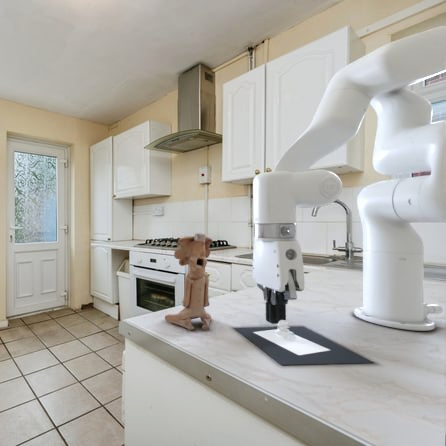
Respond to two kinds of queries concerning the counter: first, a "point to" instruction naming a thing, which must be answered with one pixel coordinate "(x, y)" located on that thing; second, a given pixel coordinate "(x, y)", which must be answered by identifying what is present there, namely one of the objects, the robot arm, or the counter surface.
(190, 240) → the figurine
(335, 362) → the centre mat
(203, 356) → the counter surface
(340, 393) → the counter surface
